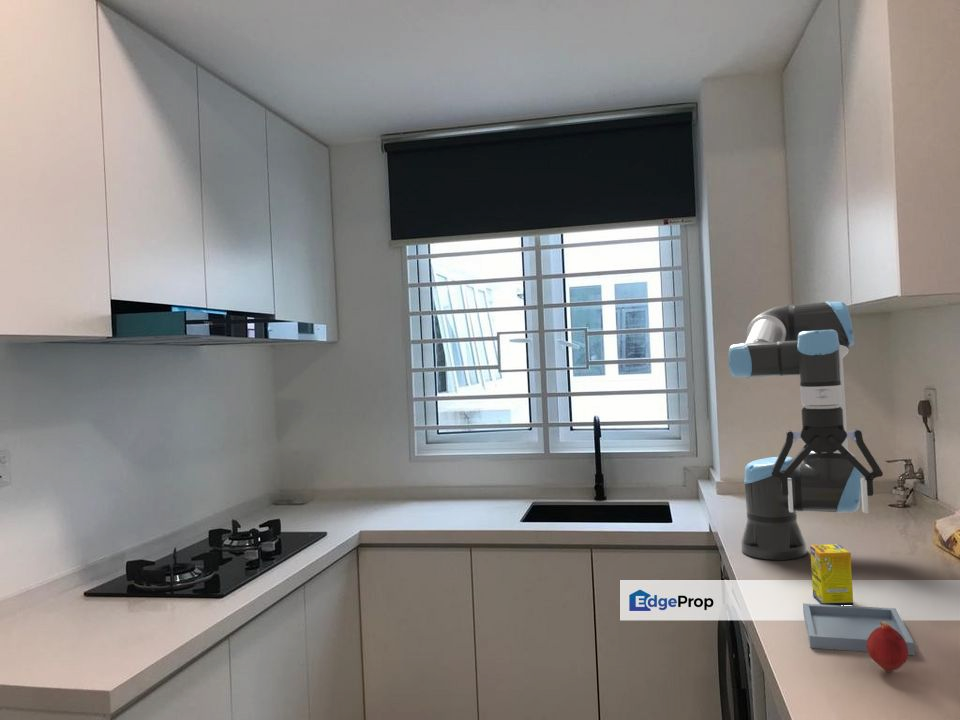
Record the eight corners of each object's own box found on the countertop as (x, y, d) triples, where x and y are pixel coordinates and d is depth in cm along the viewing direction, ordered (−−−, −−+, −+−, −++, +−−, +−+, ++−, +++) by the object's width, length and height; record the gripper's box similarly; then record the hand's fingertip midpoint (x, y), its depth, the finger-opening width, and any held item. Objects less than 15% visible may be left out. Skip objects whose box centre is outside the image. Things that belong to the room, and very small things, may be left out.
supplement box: (812, 597, 152) (809, 544, 152) (842, 596, 152) (839, 543, 151) (822, 607, 146) (819, 552, 146) (854, 606, 146) (851, 551, 145)
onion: (895, 662, 121) (892, 613, 121) (917, 677, 115) (914, 627, 115) (861, 664, 121) (858, 616, 121) (881, 680, 115) (878, 630, 115)
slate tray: (803, 614, 143) (802, 603, 143) (896, 619, 138) (895, 608, 138) (810, 647, 128) (809, 635, 128) (914, 655, 123) (914, 642, 123)
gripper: (755, 410, 149) (761, 514, 149) (895, 406, 140) (901, 516, 141) (755, 406, 156) (761, 506, 156) (888, 402, 147) (893, 508, 148)
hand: (827, 511), depth 148 cm, fingers open, 13 cm apart
